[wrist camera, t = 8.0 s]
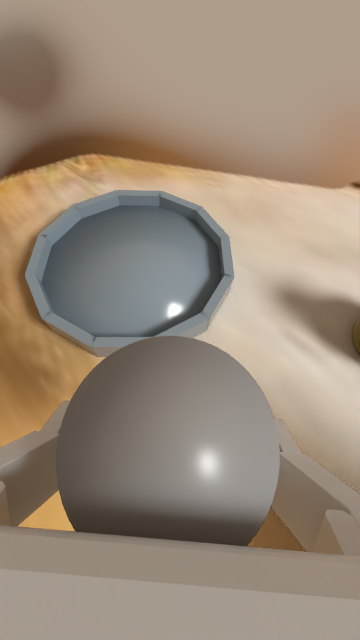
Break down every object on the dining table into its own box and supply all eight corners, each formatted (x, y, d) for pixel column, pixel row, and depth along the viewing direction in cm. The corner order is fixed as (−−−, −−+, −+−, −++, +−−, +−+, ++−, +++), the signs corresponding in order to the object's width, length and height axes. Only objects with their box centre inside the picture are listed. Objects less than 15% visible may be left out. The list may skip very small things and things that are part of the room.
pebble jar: (102, 471, 13) (4, 483, 5) (154, 387, 15) (139, 306, 7) (188, 531, 12) (221, 655, 4) (231, 432, 14) (307, 394, 6)
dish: (-5, 297, 29) (-19, 283, 27) (115, 187, 39) (111, 171, 36) (167, 398, 25) (166, 391, 22) (255, 245, 34) (261, 230, 32)
